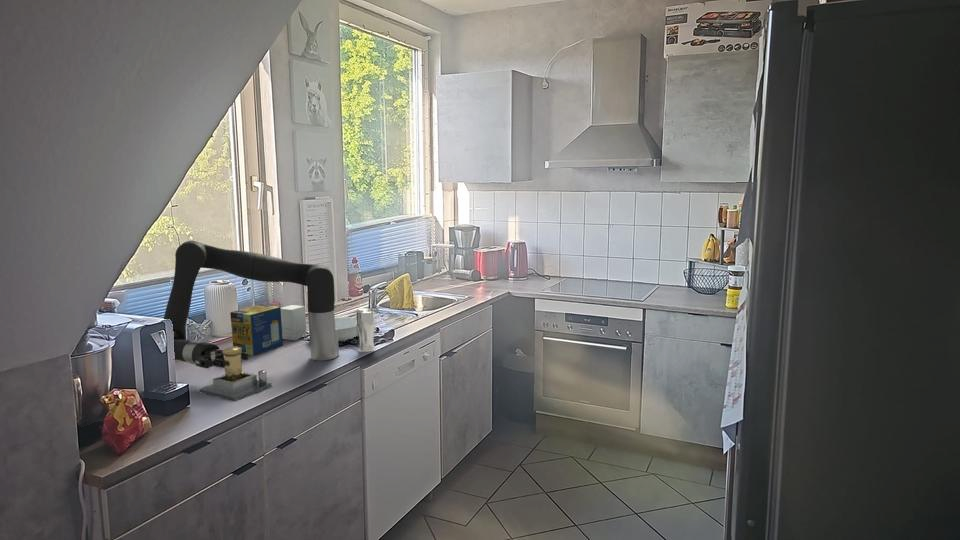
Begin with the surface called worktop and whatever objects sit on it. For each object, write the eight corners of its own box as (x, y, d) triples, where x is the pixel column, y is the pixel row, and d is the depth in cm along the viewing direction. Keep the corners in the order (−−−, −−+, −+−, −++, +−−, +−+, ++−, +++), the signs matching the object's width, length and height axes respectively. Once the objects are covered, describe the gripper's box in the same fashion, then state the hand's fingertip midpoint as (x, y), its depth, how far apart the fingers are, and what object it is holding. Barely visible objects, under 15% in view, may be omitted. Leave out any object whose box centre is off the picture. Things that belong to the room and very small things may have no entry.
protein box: (232, 352, 239) (229, 312, 236) (264, 342, 252) (261, 303, 250) (253, 356, 234) (249, 314, 232) (284, 345, 248) (281, 306, 245)
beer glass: (353, 350, 239) (351, 310, 237) (368, 346, 244) (367, 307, 242) (364, 353, 234) (362, 313, 232) (379, 349, 239) (377, 310, 237)
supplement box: (307, 336, 260) (305, 306, 258) (293, 341, 254) (291, 309, 252) (294, 334, 264) (292, 304, 262) (280, 338, 257) (278, 307, 255)
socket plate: (236, 378, 209) (235, 364, 208) (271, 386, 201) (270, 371, 200) (199, 392, 197) (197, 376, 196) (234, 400, 189) (233, 384, 188)
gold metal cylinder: (236, 381, 203) (233, 345, 200) (248, 384, 200) (245, 347, 198) (221, 387, 198) (217, 350, 196) (233, 390, 195) (230, 352, 193)
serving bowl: (370, 332, 264) (370, 316, 263) (356, 347, 244) (355, 329, 243) (321, 332, 266) (320, 316, 265) (303, 346, 246) (302, 329, 245)
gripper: (180, 347, 198) (215, 354, 190) (219, 336, 210) (253, 342, 202) (182, 371, 199) (217, 378, 191) (220, 358, 212) (255, 365, 204)
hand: (236, 360), depth 197 cm, fingers open, 8 cm apart
